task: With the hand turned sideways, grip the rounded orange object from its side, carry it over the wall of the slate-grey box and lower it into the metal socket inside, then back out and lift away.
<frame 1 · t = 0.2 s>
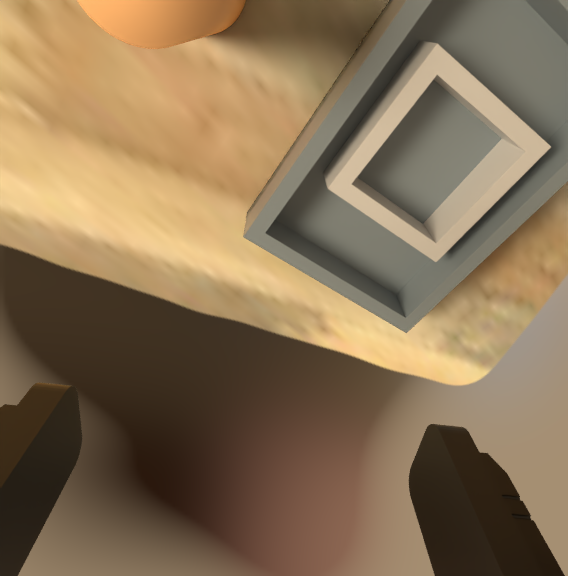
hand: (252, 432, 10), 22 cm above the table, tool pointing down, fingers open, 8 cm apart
walled box: (417, 149, 28), on the table
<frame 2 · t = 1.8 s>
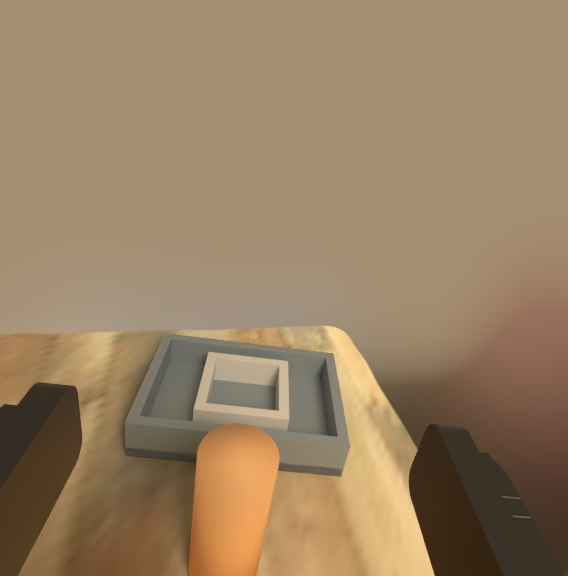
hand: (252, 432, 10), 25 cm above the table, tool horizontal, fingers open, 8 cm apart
walled box: (241, 411, 45), on the table
rounded orange object: (222, 568, 31), on the table
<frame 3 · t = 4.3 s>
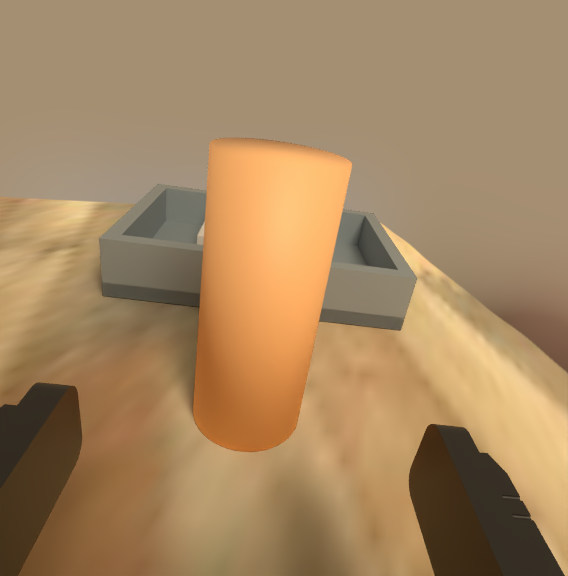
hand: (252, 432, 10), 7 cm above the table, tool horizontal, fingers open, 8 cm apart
walled box: (259, 269, 34), on the table
rounded orange object: (246, 409, 20), on the table
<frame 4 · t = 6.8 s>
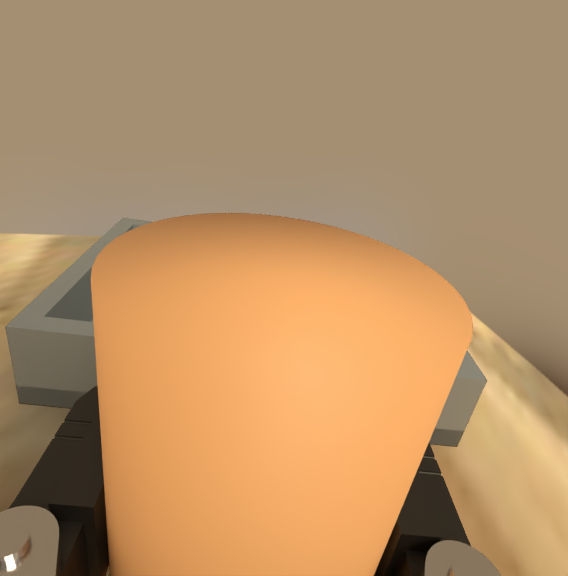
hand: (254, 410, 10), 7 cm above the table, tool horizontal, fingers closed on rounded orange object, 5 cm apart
walled box: (254, 339, 25), on the table
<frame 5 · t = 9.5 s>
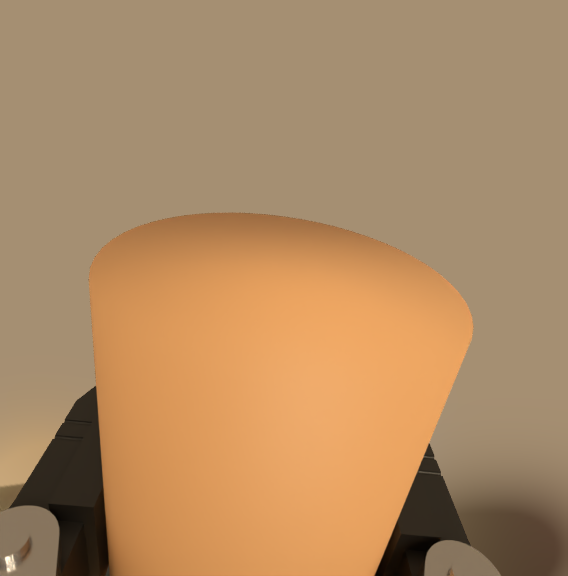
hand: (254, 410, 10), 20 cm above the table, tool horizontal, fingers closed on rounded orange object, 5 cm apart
when the fingers open (9 cm above the table, at t = 12.7 s): rounded orange object drops 1 cm, resting on walled box.
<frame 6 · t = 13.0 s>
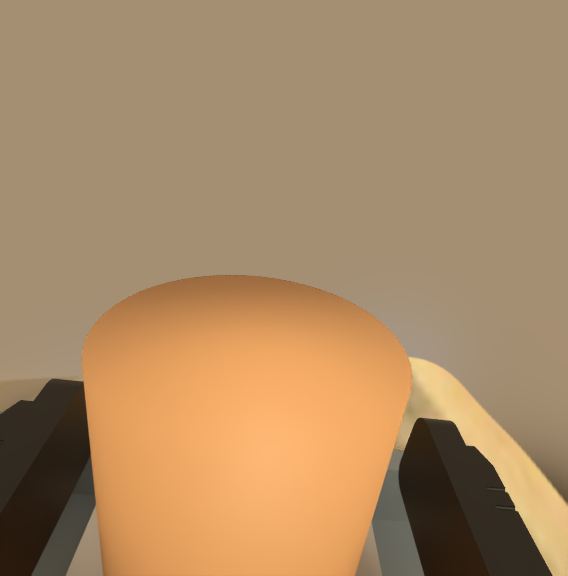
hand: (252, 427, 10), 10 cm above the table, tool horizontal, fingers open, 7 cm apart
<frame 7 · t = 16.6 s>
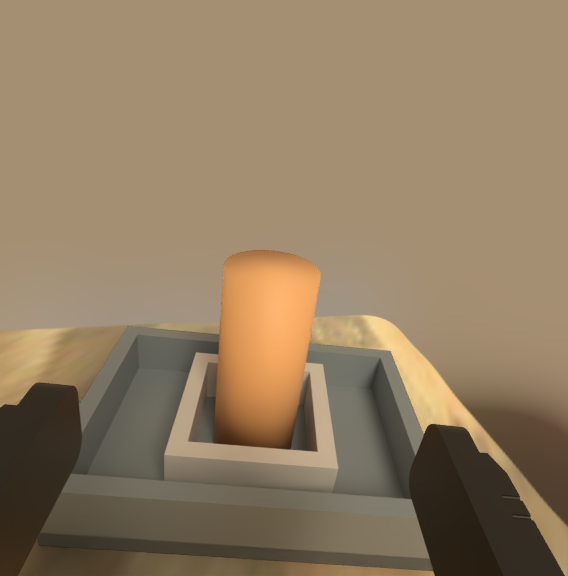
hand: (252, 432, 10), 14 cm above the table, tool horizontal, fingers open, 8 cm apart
walled box: (251, 449, 28), on the table
rounded orange object: (252, 438, 27), point 1 cm above the table, touching walled box
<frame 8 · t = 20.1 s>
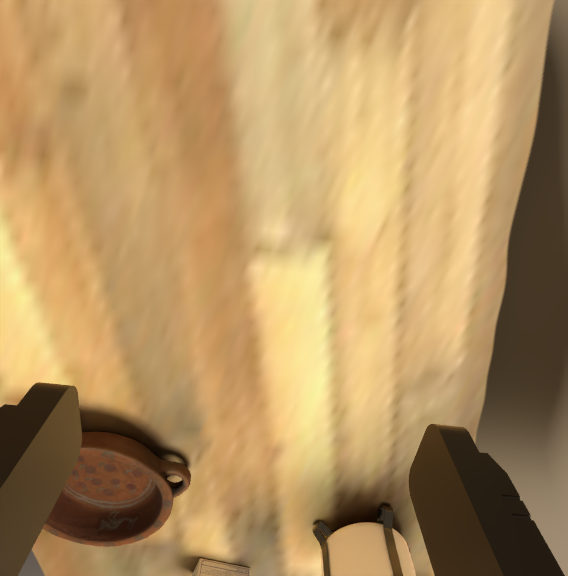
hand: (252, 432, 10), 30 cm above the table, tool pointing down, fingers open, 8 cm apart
dish: (108, 466, 54), on the table
coffee press: (366, 538, 61), on the table
medicine box: (221, 568, 64), on the table
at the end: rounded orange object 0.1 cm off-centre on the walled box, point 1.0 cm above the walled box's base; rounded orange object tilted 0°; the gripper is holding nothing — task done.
